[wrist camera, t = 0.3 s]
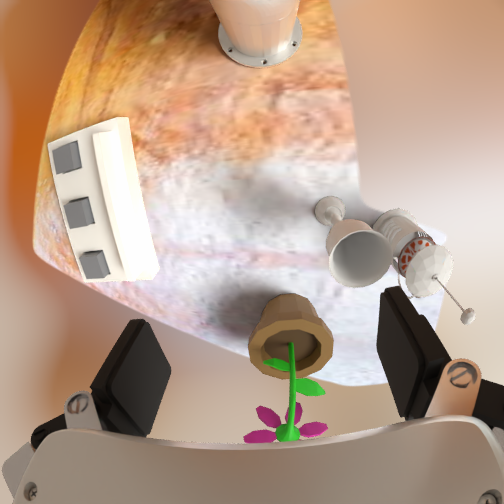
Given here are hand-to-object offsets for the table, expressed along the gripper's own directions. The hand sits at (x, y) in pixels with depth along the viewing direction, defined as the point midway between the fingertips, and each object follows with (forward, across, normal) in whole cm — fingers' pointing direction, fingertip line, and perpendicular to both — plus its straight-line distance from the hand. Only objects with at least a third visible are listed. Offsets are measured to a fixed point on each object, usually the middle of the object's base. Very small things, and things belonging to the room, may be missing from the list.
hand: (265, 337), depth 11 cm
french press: (+36, -20, +14) cm, 44 cm away
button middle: (+33, +33, -2) cm, 46 cm away
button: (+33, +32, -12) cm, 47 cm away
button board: (+36, +30, -2) cm, 47 cm away
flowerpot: (+36, +1, +26) cm, 45 cm away
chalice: (+36, -9, +7) cm, 38 cm away
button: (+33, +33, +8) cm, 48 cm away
